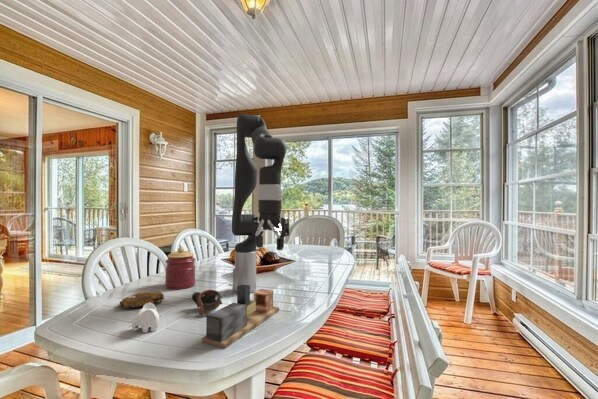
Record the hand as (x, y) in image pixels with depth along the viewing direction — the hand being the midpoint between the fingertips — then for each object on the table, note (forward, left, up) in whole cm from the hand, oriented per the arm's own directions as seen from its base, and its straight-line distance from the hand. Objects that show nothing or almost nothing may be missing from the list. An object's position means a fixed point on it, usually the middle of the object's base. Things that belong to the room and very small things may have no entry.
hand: (269, 248), depth 97 cm
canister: (-57, +18, -24) cm, 65 cm away
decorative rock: (-52, -6, -24) cm, 57 cm away
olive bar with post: (-5, -11, -20) cm, 23 cm away
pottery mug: (-25, -1, -24) cm, 35 cm away
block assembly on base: (-5, -5, -24) cm, 25 cm away
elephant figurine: (-30, -21, -24) cm, 44 cm away
